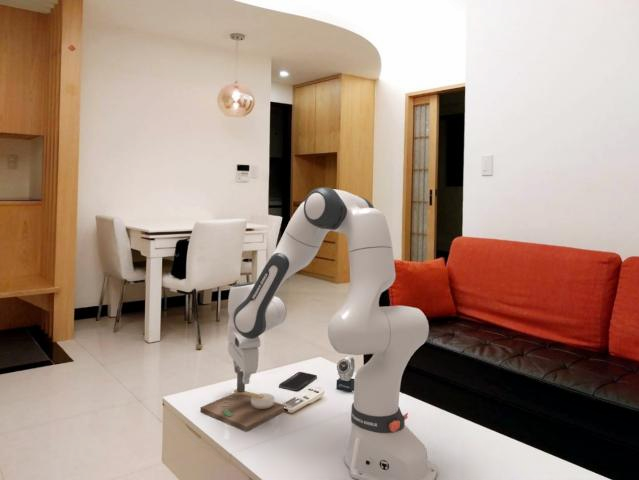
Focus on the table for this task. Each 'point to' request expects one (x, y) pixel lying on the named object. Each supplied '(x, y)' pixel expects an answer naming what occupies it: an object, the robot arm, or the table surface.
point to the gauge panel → (240, 411)
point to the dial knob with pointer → (254, 395)
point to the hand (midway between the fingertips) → (241, 377)
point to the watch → (346, 374)
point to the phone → (298, 381)
